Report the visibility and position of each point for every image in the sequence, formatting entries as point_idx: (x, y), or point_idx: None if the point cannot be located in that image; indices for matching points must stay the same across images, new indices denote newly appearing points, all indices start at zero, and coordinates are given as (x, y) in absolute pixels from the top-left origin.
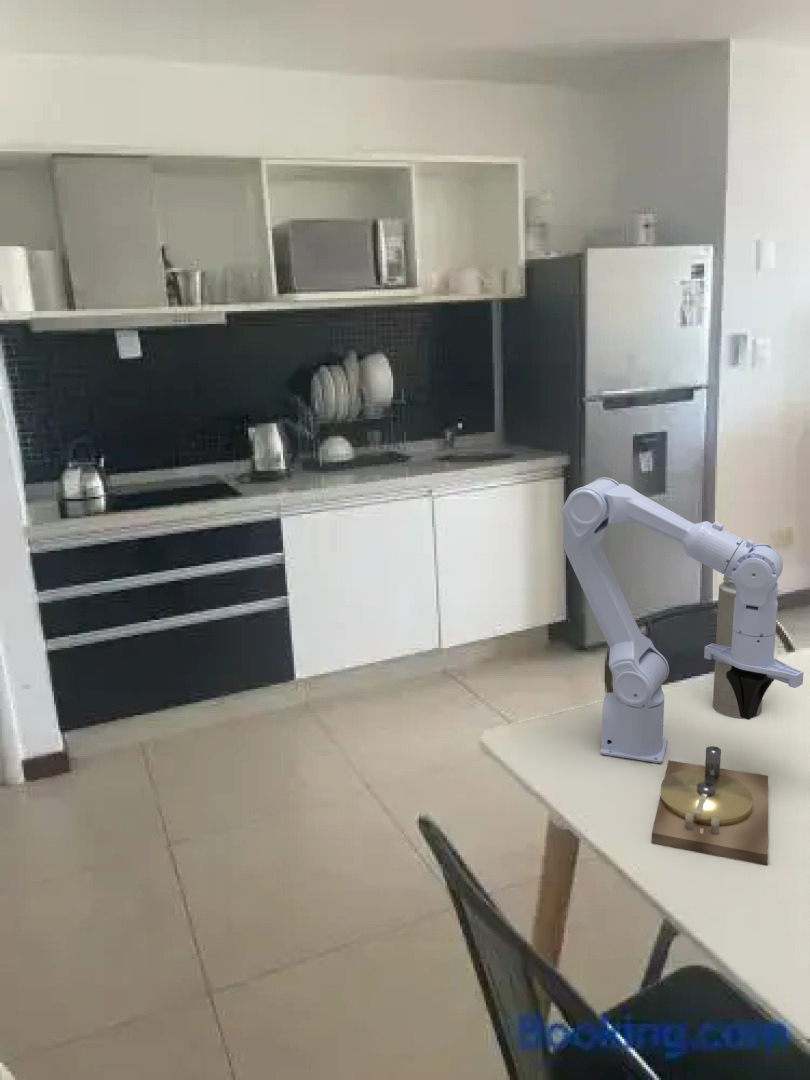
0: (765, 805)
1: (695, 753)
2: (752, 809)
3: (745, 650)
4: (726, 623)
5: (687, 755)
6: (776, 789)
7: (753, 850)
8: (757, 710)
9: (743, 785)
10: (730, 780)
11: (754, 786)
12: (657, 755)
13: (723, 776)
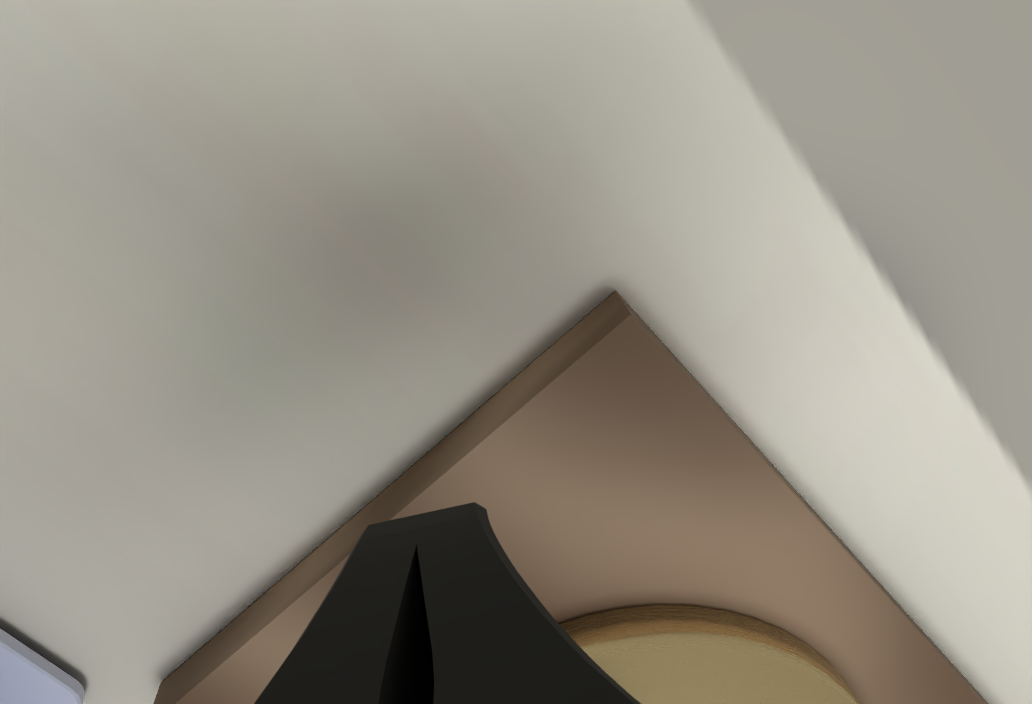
0: (851, 578)
1: (33, 411)
2: (832, 661)
3: None
4: None
5: (40, 476)
6: (684, 279)
7: None
8: (492, 532)
9: (725, 657)
10: (637, 684)
11: (676, 491)
12: (4, 687)
13: None
